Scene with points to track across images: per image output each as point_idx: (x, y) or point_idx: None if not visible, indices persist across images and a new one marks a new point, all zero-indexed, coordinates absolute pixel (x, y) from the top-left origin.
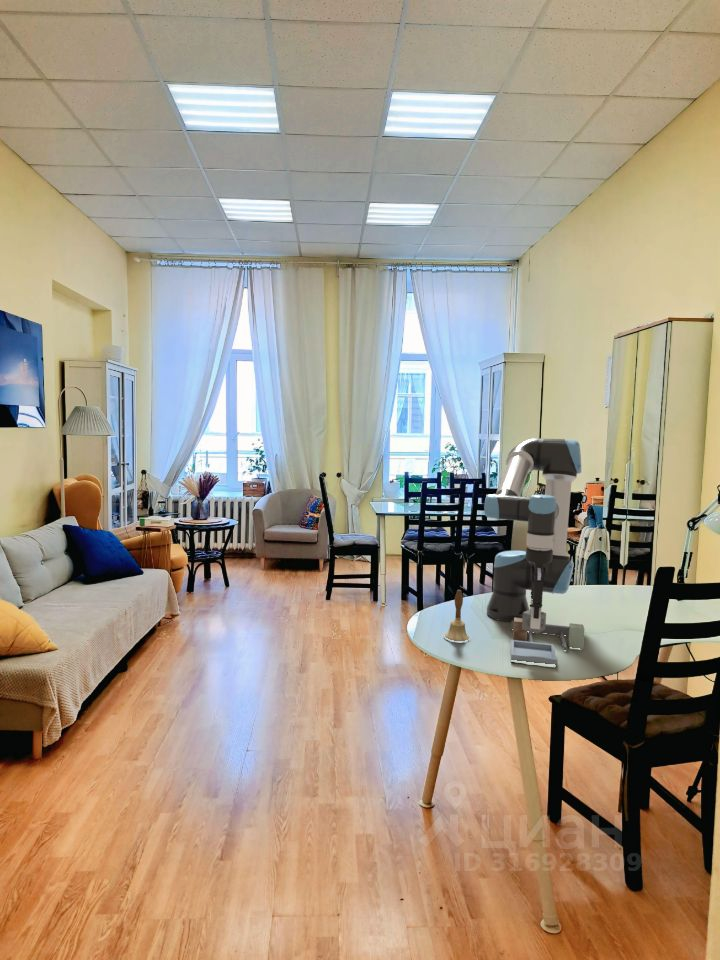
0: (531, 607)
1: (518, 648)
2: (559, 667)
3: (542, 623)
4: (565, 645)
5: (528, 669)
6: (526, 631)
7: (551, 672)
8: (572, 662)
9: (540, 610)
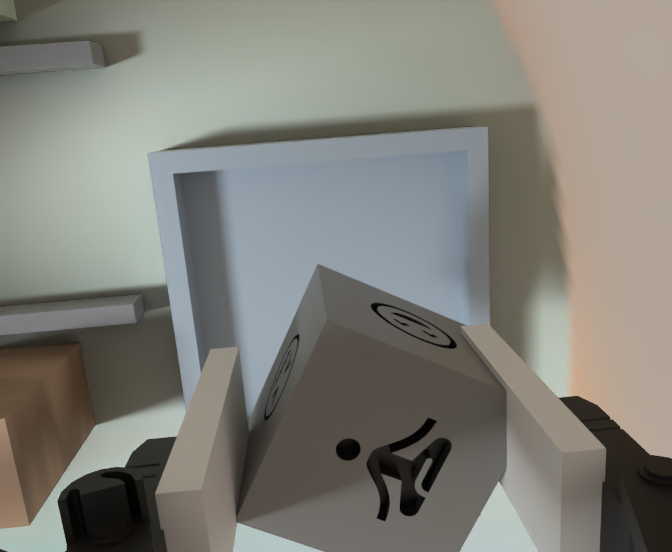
0: (234, 527)
1: (256, 389)
2: (444, 103)
3: (399, 316)
4: (49, 51)
5: (544, 298)
6: (40, 384)
7: (550, 156)
8: (310, 4)
9: (581, 432)
